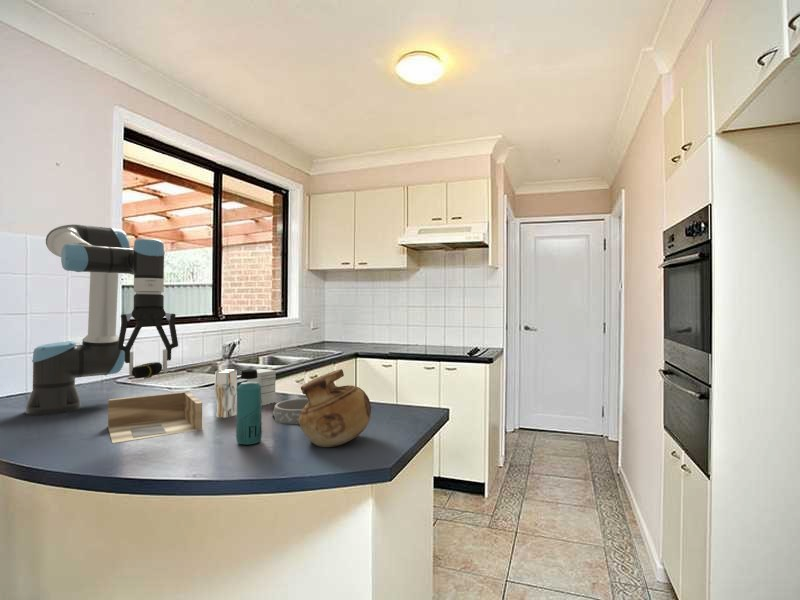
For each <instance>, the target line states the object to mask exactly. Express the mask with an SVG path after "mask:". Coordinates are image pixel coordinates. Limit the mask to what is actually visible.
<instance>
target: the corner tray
mask: <svg viewBox="0 0 800 600" xmlns="http://www.w3.org/2000/svg"><path fill="white" fill-rule="evenodd" d="M107 403H108V404H107V427H108V428H107V429H108V432H109V437H110V441H111V444H120V443H125V442H126V443H127V442H132V441H138V440H144V439H151V438H152V439H153V438H157V437H163V436H168V435H169V436H170V435H175V434H181V433H182V434H183V433H189V432H194V431H195V432H196V431H201V430H203V402H202V401H201V400H200V399H198V398H197V397H196V396H195V395H194V394H193V393H191V392H190V391H187V390H186V391H178V392H170V393H168V392H167V393H159V394H152V395H139V396H131V397H123V398H122V397H121V398H120V397H119V398H111V399H108V401H107Z"/></svg>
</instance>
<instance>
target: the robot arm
mask: <svg viewBox="0 0 800 600" xmlns="http://www.w3.org/2000/svg"><path fill="white" fill-rule="evenodd" d="M45 245H46V247H47V249H48V251H50V252H51V253H52V254H53V255H55V256H56V257H58V258H60V260H61V267H62V270H63V269H64V271H69V272H76V273H82V272H83V273H89V292H88V293H89V294H88V295H89V296H88V318H87V319H88V323H87V335H86V336H84V337H83V338H82V343H81V344H76V343H77V342H76V341H74V340H73V341H72V340H70V341H69V340H68V341H58V342H52V343H47V344H41V345H39V346H37V347H35V348H34V349H33V354H32V360H31V362H32V390H31V393H30V395H29V398H28V401H27V403H26V406H25V414H26V415H28V414H29V416H49V415H57V414H58V415H59V414H64V413H69V412H72V411H76V410H79V409H81V407H82V404H81V403H82V402H81V401H82V400H81V398H80V396H79V393H78V391H77V388H76V378H87V377H88V378H89V377H97V376H98V377H99V376H108V375H114V374H115V375H116V374H117V373H119V372H121V371H122V369H123V368H124V365H125V364H128V365H129V366H128V375H129V376H133V375H132V370H133V367H134V351H133V350H132V348H133V345H134V343H135V342H136V339H137V337H138V335H139V333H140V332H141V329H142V328H143V327H148V326H150V327H155V329H156V330H157V332H158V334H159V336H160V338H161V341H162V343H163V346H164V347H165V348H164V349H162V372H163V373H164V374H165V373H166V374H167V373H168V361H171V360H172V350H173V349H175V348H177V347H178V346H179V340H178V336H177V335H178V334H177V329H176V323H175V320H176V316H177V315H176V314H175V313H174V312H173V313H168V312H166V311H165V309H164V308H165V307H164V305H165V304H164V298H165V296H164V295H163V294H162V293H164V289H165V287H164V282H165V280H164V277H165V246H164V242H163V241H162V240H159V239H153V238H136V239H135V240H134V244H133V248H131V246H130V245H131V244H130V241H129V238H128V235H127V233H126V232H125V231H124V230H122V229H118V228H112V227H103V226H93V225H81V224H65V225H60V226H58V227H55V228H52V229H51V230H50V231H49V232H48V233H47V234H46V238H45ZM119 274H126V275H133V292H134V295H133V309H132V312H130V313H121V314H120V319H121V325H120V330H119V335H117V334H116V333H117V316H118V315H117V314H118V313H117V311H118V289H119ZM131 317H132V318H133V319H134V320H135V322H136V324H135V327H134V329H133V330H132V333H131V335H130V337H129V338H128V341H127V342H126V344H125V339H126V334H127V328H128V322H130V321H131ZM164 318H166V320H167V321H168V327H169V333H170V338H171V339H170V340H171V343H170V341H169V339H168V337H167V334H166V332H165V330H164V329H163V326H162V324H161V321H162V320H163V319H164Z"/></svg>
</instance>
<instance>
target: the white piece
mask: <svg viewBox="0 0 800 600" xmlns="http://www.w3.org/2000/svg"><path fill="white" fill-rule="evenodd" d="M237 372H238V370H237V369H219V370H216V371H214V373H215V374H214V392H215V393H214V394H215V400H216V405H217V406H216V408H217V409H216V413H215V417H216V418H221V417H223V418H230V417H234V416H237V412H236V408H235V406H236V405H235V404H236V403H235V402H236V399H237V387H238V373H237Z"/></svg>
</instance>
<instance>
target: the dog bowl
mask: <svg viewBox="0 0 800 600" xmlns="http://www.w3.org/2000/svg"><path fill="white" fill-rule="evenodd" d="M308 402H309V400H308V398H307V397H306V398H293V399H291V398H290V399H287V400H282V401H279V402H277V403H276V404H274V408H273V412H272V417H274V421H275V422H276V423H280V424H290V425H291V424H292V425H293V424H297V425H298V424H299V417H300V414H301V412H302V410H303V408H304V407H305V406H306V404H307V403H308ZM299 425H300V424H299Z"/></svg>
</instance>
